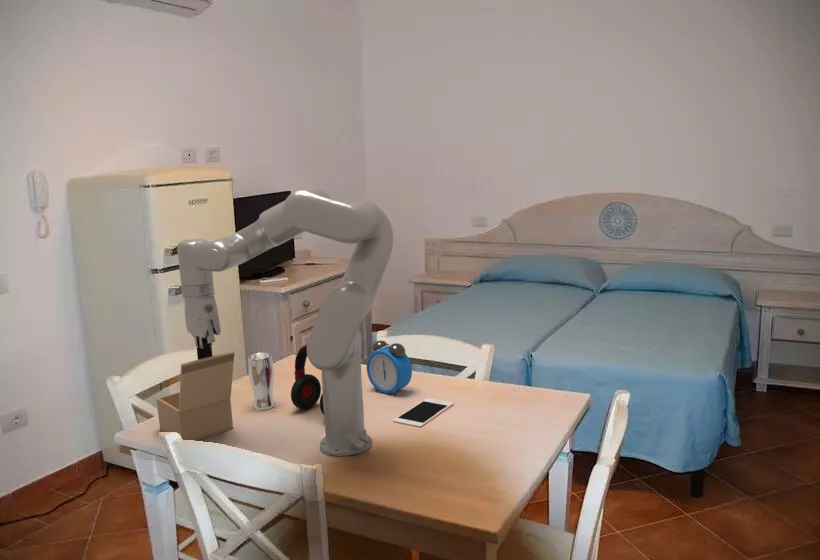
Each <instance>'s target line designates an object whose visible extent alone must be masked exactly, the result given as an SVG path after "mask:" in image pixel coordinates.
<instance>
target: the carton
mask: <svg viewBox="0 0 820 560" xmlns="http://www.w3.org/2000/svg"><path fill="white" fill-rule="evenodd" d="M155 399H156V407H157V415H158V424H159V430H160V431H161V432H162V433H164V432H177V433H179V434H180V435H181V437H182V439H183V440H197V441H200V440H202V439H206V438H208V437H212V436H216V435H217V434H218V435H219V434H220V433H223V432H226V431H231V430H233V429H234V424H233V423H234V422H233V413H232V412H233V411H232V405H231V404H232V403H231V398H227V399H224V400H221V401H217V402H214V403H210V404H207V405H204V406H200V407H197V408H194V409H190V410H187V411H184V412H179V399H180V391H178V392H174V393H171V394H166V395H163V396H160V397H157V398H155Z"/></svg>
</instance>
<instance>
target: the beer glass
mask: <svg viewBox="0 0 820 560" xmlns="http://www.w3.org/2000/svg"><path fill="white" fill-rule="evenodd" d="M247 369H248V377H249V380H250V385H251V389H252V392H253V409H254V410H256V409H257V410H258V411H265V410H270V409H273V408H274V407H276V402H275V398H274V393H273V392H274V389H273V388H274V374H275V373H274V371H275V369H274V362H273V356H272V353H270V352H256V353H252V354H250V355H248V357H247ZM272 407H273V408H272Z"/></svg>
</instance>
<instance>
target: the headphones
mask: <svg viewBox="0 0 820 560" xmlns="http://www.w3.org/2000/svg"><path fill="white" fill-rule="evenodd" d="M307 358H308V356H307V344H304V345H303V346H301V347H300V348H299V350H298V352H297V353H296V356H295V361H294V380H295V381H294V382H293V384H292V387H291V390H290V399H291V402H292V404H293V406H294V407H296V408H297V409H299V410H309V409H312V408H313V407H314V406H315V405H316V404H317V402H318V401H319V410H320V412H321V414H322V416H324V406H323V393H322V384H321V382H320V380H319V378H317V376H315V375H313V374H307V373H306V371H305V369H306V368H305V367H306V362H307Z"/></svg>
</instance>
